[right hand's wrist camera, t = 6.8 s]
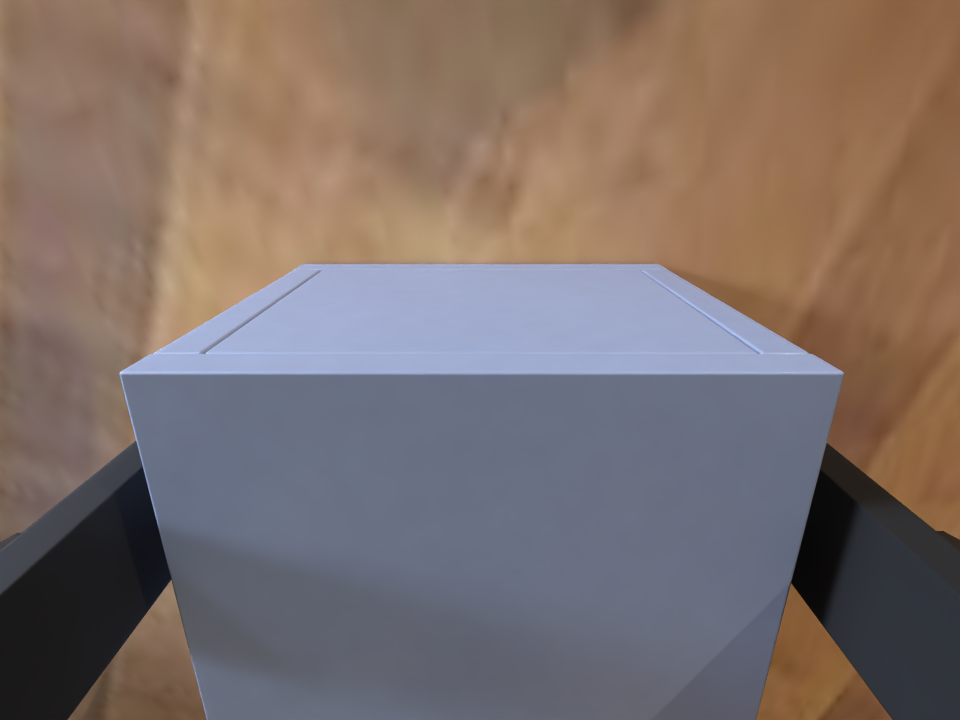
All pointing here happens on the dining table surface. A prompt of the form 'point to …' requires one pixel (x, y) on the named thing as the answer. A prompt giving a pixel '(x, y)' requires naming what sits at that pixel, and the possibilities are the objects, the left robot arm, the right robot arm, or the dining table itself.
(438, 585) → the cabinet
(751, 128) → the dining table surface
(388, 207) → the dining table surface
